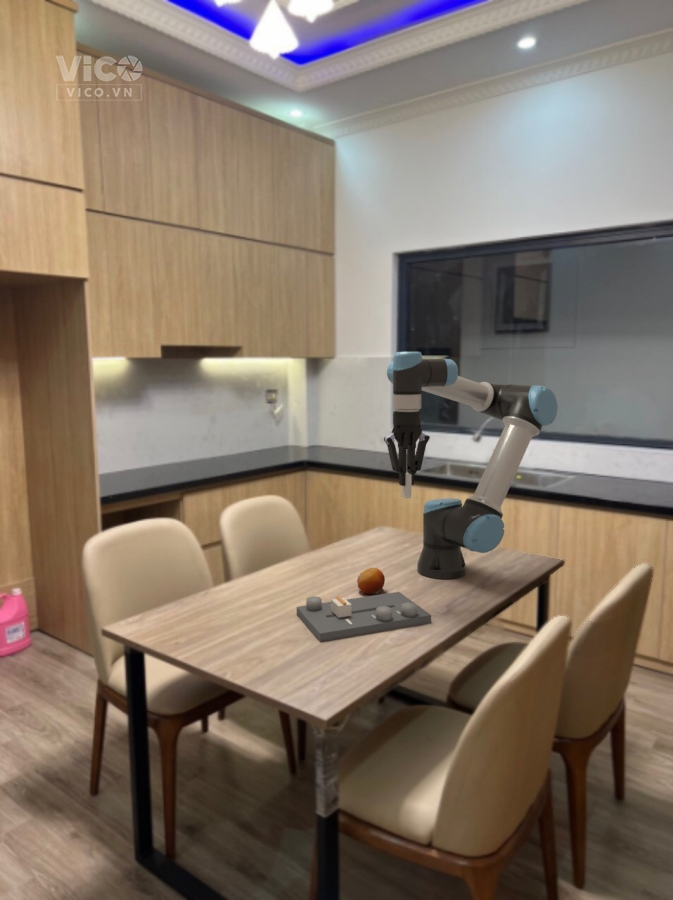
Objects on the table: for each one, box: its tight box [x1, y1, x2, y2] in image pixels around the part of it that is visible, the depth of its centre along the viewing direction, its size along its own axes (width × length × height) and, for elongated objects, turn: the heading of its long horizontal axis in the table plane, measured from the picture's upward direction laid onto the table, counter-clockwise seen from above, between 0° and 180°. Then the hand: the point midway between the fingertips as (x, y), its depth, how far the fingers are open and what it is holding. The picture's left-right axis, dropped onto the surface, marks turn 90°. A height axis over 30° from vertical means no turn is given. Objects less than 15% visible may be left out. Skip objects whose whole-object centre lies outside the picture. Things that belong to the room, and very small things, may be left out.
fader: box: [330, 595, 351, 618], centre depth 164 cm, size 4×5×4 cm
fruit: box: [356, 567, 386, 596], centre depth 186 cm, size 8×8×8 cm
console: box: [296, 591, 432, 642], centre depth 167 cm, size 30×18×4 cm, turn 111°
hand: (406, 497), depth 175 cm, fingers closed
